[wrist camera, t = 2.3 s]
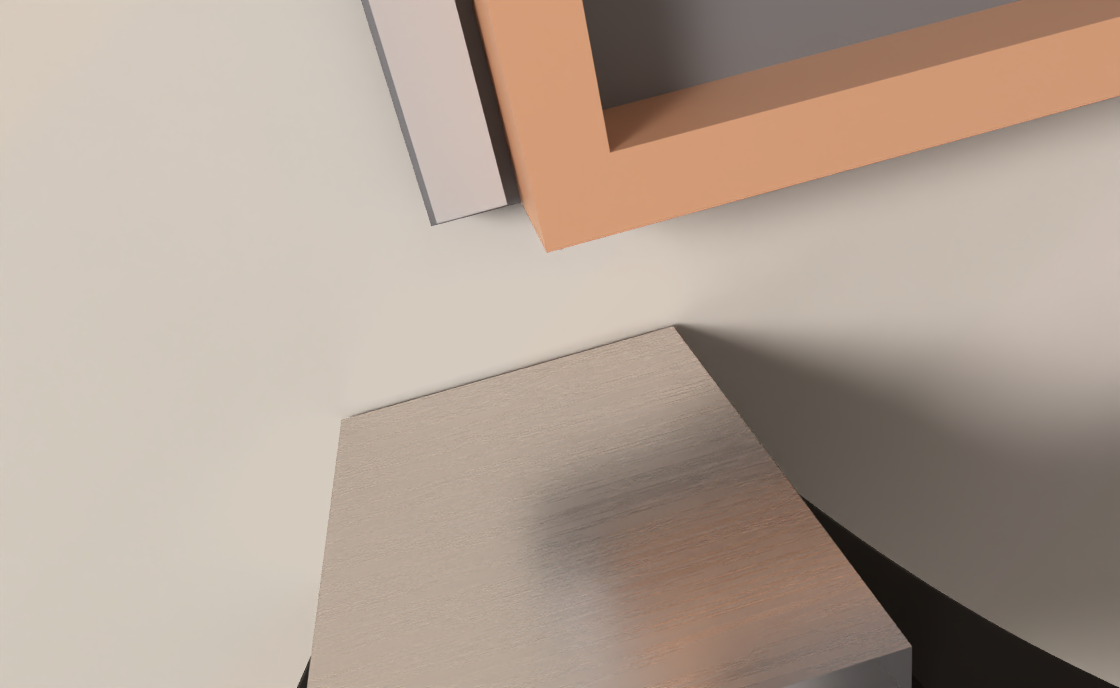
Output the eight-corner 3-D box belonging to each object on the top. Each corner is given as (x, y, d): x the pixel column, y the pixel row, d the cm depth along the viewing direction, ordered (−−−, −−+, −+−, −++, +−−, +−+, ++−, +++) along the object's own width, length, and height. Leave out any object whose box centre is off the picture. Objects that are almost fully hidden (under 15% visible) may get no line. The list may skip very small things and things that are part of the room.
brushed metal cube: (718, 607, 14) (908, 993, 9) (455, 689, 14) (490, 1138, 9) (672, 326, 11) (912, 646, 6) (341, 420, 11) (287, 845, 6)
